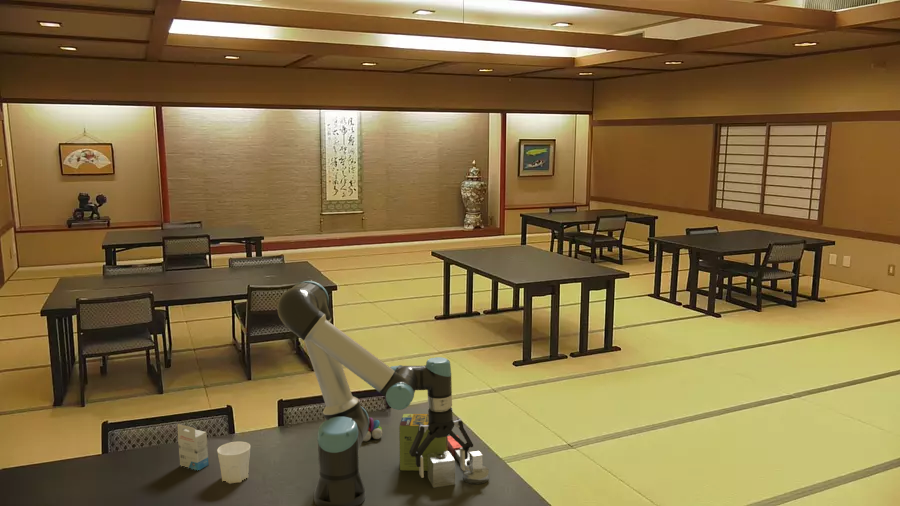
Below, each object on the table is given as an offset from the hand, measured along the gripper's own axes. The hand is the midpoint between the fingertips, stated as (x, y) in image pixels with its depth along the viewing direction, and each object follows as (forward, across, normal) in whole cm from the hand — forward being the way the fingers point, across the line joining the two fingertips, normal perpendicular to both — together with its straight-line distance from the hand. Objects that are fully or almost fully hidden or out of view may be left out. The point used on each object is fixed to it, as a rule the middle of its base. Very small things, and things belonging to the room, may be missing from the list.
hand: (442, 472), depth 216 cm
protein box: (+3, -3, +13) cm, 14 cm away
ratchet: (+3, +10, +10) cm, 15 cm away
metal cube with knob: (+3, -1, 0) cm, 3 cm away
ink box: (+1, -76, +35) cm, 83 cm away
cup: (+1, -63, +22) cm, 66 cm away
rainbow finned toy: (+2, -16, +40) cm, 43 cm away
